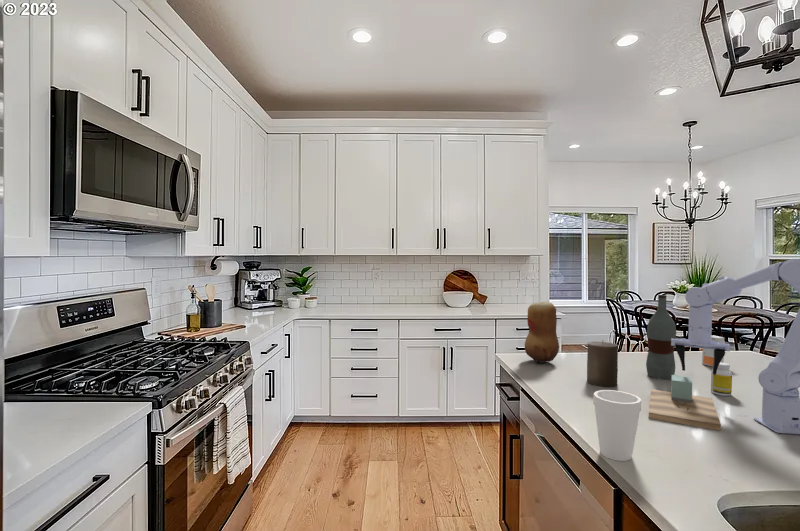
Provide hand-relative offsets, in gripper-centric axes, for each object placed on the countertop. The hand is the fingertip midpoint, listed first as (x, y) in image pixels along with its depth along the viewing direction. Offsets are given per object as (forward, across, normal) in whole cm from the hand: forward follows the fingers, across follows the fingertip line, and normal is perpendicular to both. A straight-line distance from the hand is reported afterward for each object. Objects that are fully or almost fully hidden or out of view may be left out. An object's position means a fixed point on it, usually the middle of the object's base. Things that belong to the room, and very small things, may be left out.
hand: (698, 371), depth 131 cm
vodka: (+10, -10, +27) cm, 31 cm away
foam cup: (+10, -17, -52) cm, 55 cm away
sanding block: (+8, -4, -4) cm, 10 cm away
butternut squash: (+10, -52, +23) cm, 58 cm away
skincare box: (+10, +7, +57) cm, 59 cm away
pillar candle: (+10, -27, +6) cm, 30 cm away
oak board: (+9, -4, -10) cm, 15 cm away
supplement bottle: (+10, +7, +15) cm, 19 cm away
